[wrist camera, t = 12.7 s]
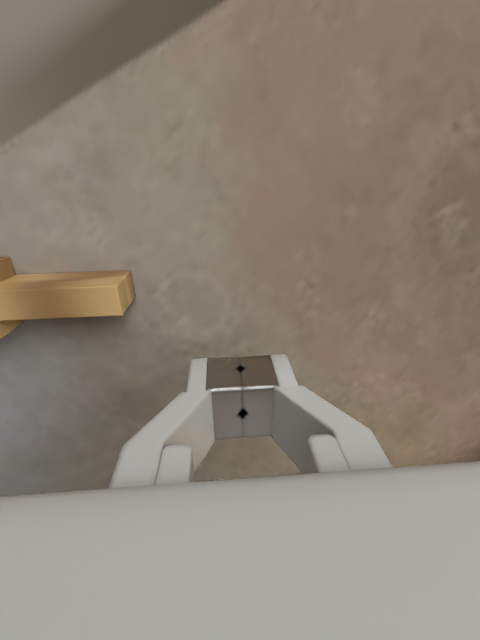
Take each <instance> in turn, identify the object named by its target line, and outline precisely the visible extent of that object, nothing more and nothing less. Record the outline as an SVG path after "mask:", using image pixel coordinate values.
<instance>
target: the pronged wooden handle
mask: <svg viewBox="0 0 480 640" xmlns="http://www.w3.org/2000/svg"><path fill="white" fill-rule="evenodd" d="M135 296H136V295H135V290H134V284H133V279H132V274H131V271H130V270H124V271H96V272H68V273H40V274H15V271H14V268H13V265H12V263H11V260H10V257H0V338H3V337H4V336H5V335H7V334H8V333H9V332H11V331H12V330H13V329H15V328H16V327H17V326H19V325H20V324H21V323H23V322H24V321H25V320H29V319H53V318H76V317H100V316H122V315H123V314H124V313H125V311H126V310H127V308H128V307H129V305H130V304H131V302H132V301H133V299H134V298H135Z"/></svg>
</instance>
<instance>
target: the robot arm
mask: <svg viewBox="0 0 480 640" xmlns="http://www.w3.org/2000/svg"><path fill="white" fill-rule="evenodd" d="M258 436H272V438H273V439H274V441H275V442H276V443H277V444H278V445H279V446H280V447H281V448H282V450H283V451H284V452H285V453H286V454H287V455H288V456H289V457H290V459H291V460H292V461H293V462H294V463H295V464H296V465H297V466H298V468H299V469H300V470H301V471H302V472H303V474H295V475H282V476H268V477H255V478H242V479H228V480H215V481H202V482H196V481H195V472H196V470H197V469H198V467H199V466H200V464H201V462H202V461H203V459H204V458H205V456H206V455H207V453H208V451H209V450H210V448H211V447H212V445H213V443H214V442H215V440H217V439H228V438H238V437H258ZM0 640H480V461H471V462H458V463H445V464H432V465H418V466H405V467H392V465H391V463H390V462H389V460H388V458H387V456H386V455H385V453H384V451H383V450H382V448H381V446H380V445H379V443H378V441H377V440H376V438H375V436H374V434H373V433H372V431H371V430H370V429H369V428H367V427H366V426H364V425H362V424H361V423H359V422H358V421H356V420H355V419H353V418H352V417H350V416H349V415H347V414H346V413H344V412H343V411H341V410H340V409H338V408H337V407H335V406H333V405H332V404H330V403H329V402H327V401H326V400H324V399H323V398H321V397H320V396H318V395H317V394H315V393H314V392H312V391H311V390H309V389H308V388H306V387H305V386H298V383H297V381H296V378H295V376H294V373H293V370H292V368H291V365H290V363H289V360H288V358H287V355H286V354H276V355H267V356H252V357H222V358H208V359H207V358H195V359H191V361H190V366H189V374H188V381H187V389H186V392H181V393H180V394H179V395H178V396H177V397H176V398H175V399H173V400H172V401H171V402H170V403H169V404H168V405H167V406H166V407H165V408H164V409H162V410H161V411H160V412H159V413H158V414H157V415H156V416H155V417H154V418H153V419H151V420H150V421H149V422H148V423H147V424H146V425H145V426H144V427H143V428H142V429H141V430H139V431H138V432H137V433H136V434H135V435H134V436H133V437H132V438H131V439H130V440H128V441H127V442H126V443H125V444H124V445H123V446H122V449H121V452H120V455H119V458H118V461H117V464H116V466H115V469H114V472H113V475H112V478H111V481H110V484H109V487H108V489H94V490H81V491H67V492H54V493H40V494H27V495H13V496H0Z"/></svg>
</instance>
